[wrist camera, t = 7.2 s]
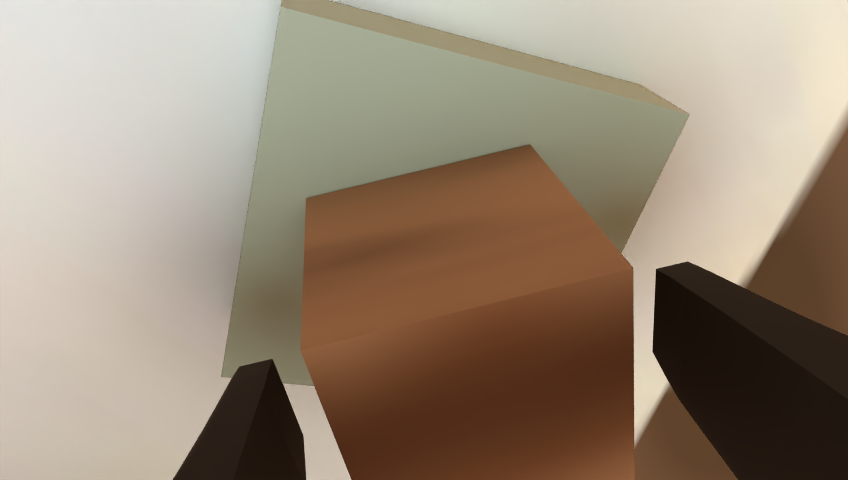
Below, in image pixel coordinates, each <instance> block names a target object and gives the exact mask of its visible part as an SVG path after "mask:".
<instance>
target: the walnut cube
mask: <svg viewBox="0 0 848 480" xmlns="http://www.w3.org/2000/svg"><path fill="white" fill-rule="evenodd" d="M300 351H301V354H302V356H303V359H304V361H305V364H306V366H307V369H308V371H309V374H310V376H311V379H312V381H313V384H314V386H315V389H316V391H317V394H318V396H319V399H320V401H321V404H322V406H323V409H324V411H325V414H326V417H327V419H328V422H329V424H330V427H331V429H332V432H333V434H334V437H335V439H336V442H337V444H338V447H339V449H340V452H341V454H342V457H343V459H344V462H345V464H346V467H347V469H348V472H349V475H350V477H351V480H634V327H633V267H632V266H631V265H630V264H629V262H628V261H627V260H626V259H625V258H624V256H623V255H622V254H621V253H620V252H619V250H618V249H617V248H616V247H615V246H614V244H613V243H612V242H611V241H610V240H609V238H608V237H607V236H606V235H605V234H604V232H603V231H602V230H601V229H600V228H599V226H598V225H597V224H596V223H595V222H594V220H593V219H592V218H591V217H590V216H589V214H588V213H587V212H586V211H585V210H584V208H583V207H582V206H581V205H580V204H579V202H578V201H577V200H576V199H575V198H574V196H573V195H572V194H571V193H570V192H569V190H568V189H567V188H566V187H565V186H564V184H563V183H562V182H561V181H560V180H559V178H558V177H557V176H556V175H555V174H554V172H553V171H552V170H551V169H550V168H549V166H548V165H547V164H546V163H545V162H544V160H543V159H542V158H541V157H540V156H539V154H538V153H537V152H536V151H535V150H534V148H533V147H532V146H531V145H526V146H522V147H518V148H513V149H509V150H505V151H501V152H497V153H493V154H488V155H484V156H480V157H476V158H472V159H468V160H463V161H459V162H455V163H451V164H447V165H443V166H439V167H434V168H430V169H426V170H422V171H418V172H414V173H409V174H405V175H401V176H397V177H393V178H389V179H384V180H380V181H376V182H372V183H368V184H364V185H359V186H355V187H351V188H347V189H343V190H339V191H334V192H330V193H326V194H322V195H318V196H314V197H310V198H306V212H305V240H304V267H303V295H302V322H301V350H300Z"/></svg>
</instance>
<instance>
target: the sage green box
mask: <svg viewBox="0 0 848 480" xmlns="http://www.w3.org/2000/svg"><path fill="white" fill-rule="evenodd" d="M689 115H690V114H688V113H687V112H685V111H683V110H682V109H680V108H678V107H677V106H675V105H673V104H672V103H670V102H668V101H667V100H665V99H663V98H661V97H660V96H658V95H656V94H655V93H653V92H651V91H650V90H648V89H646V88H645V87H643V86H641V85H639V84H636V83H632V82H628V81H625V80H621V79H617V78H613V77H610V76H606V75H602V74H599V73H595V72H591V71H588V70H584V69H580V68H577V67H573V66H569V65H566V64H562V63H558V62H554V61H551V60H547V59H543V58H540V57H536V56H532V55H529V54H525V53H521V52H518V51H514V50H510V49H507V48H503V47H499V46H495V45H492V44H488V43H484V42H481V41H477V40H473V39H470V38H466V37H462V36H459V35H455V34H451V33H448V32H444V31H440V30H436V29H433V28H429V27H425V26H422V25H418V24H414V23H411V22H407V21H403V20H400V19H396V18H392V17H389V16H385V15H381V14H377V13H374V12H370V11H366V10H363V9H359V8H355V7H352V6H348V5H344V4H341V3H337V2H333V1H330V0H282V3H281V7H280V13H279V19H278V25H277V31H276V38H275V44H274V50H273V56H272V63H271V69H270V75H269V81H268V88H267V94H266V100H265V106H264V112H263V119H262V125H261V131H260V137H259V144H258V150H257V156H256V162H255V169H254V175H253V181H252V187H251V193H250V200H249V206H248V212H247V218H246V225H245V231H244V237H243V243H242V250H241V256H240V262H239V268H238V275H237V281H236V287H235V293H234V299H233V306H232V312H231V318H230V324H229V331H228V337H227V343H226V349H225V356H224V362H223V368H222V374H221V377H229V378H232V377H233V375H234V374H235V372H236V370H237V369H238V368H239V366H243V365H248V364H252V363H256V362H260V361H265V360H269V359H273V361H274V363H275V366H276V368H277V371H278V373H279V376H280V378H281V381H282V383H290V384H300V385H310V386H314V384H313V381H312V379H311V376H310V374H309V371H308V369H307V366H306V364H305V361H304V359H303V356H302V354H301V351H300V350H301V322H302V295H303V267H304V240H305V212H306V198H310V197H314V196H318V195H322V194H326V193H330V192H334V191H339V190H343V189H347V188H351V187H355V186H359V185H364V184H368V183H372V182H376V181H380V180H384V179H389V178H393V177H397V176H401V175H405V174H409V173H414V172H418V171H422V170H426V169H430V168H434V167H439V166H443V165H447V164H451V163H455V162H459V161H463V160H468V159H472V158H476V157H480V156H484V155H488V154H493V153H497V152H501V151H505V150H509V149H513V148H518V147H522V146H526V145H531V146H532V147H533V148H534V150H535V151H536V152H537V153H538V154H539V156H540V157H541V158H542V159H543V160H544V162H545V163H546V164H547V165H548V166H549V168H550V169H551V170H552V171H553V172H554V174H555V175H556V176H557V177H558V178H559V180H560V181H561V182H562V183H563V184H564V186H565V187H566V188H567V189H568V190H569V192H570V193H571V194H572V195H573V196H574V198H575V199H576V200H577V201H578V202H579V204H580V205H581V206H582V207H583V208H584V210H585V211H586V212H587V213H588V214H589V216H590V217H591V218H592V219H593V220H594V222H595V223H596V224H597V225H598V226H599V228H600V229H601V230H602V231H603V232H604V234H605V235H606V236H607V237H608V238H609V240H610V241H611V242H612V243H613V244H614V246H615V247H616V248H617V249H618V250H619V252H620V253H622V251H623V249H624V247H625V245H626V243H627V240H628V238H629V236H630V234H631V232H632V230H633V228H634V226H635V224H636V222H637V220H638V218H639V216H640V214H641V212H642V210H643V208H644V206H645V204H646V202H647V200H648V198H649V196H650V194H651V192H652V190H653V188H654V186H655V184H656V182H657V180H658V178H659V176H660V174H661V172H662V170H663V168H664V166H665V164H666V162H667V160H668V158H669V155H670V153H671V151H672V149H673V147H674V145H675V143H676V141H677V139H678V137H679V135H680V133H681V131H682V129H683V127H684V125H685V123H686V121H687V119H688V117H689Z"/></svg>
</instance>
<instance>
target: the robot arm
mask: <svg viewBox="0 0 848 480" xmlns="http://www.w3.org/2000/svg"><path fill="white" fill-rule="evenodd" d="M653 353H654V355H655V357H656V359H657V361H658V363H659V365H660V367H661V368H662V370H663V372H664V374H665V376H666V378H667V379H668V381H669V383H670V385H671V386H672V388H673V390H674V392H675V393H676V395H677V397H678V398H679V400H680V401H681V403H682V404H683V405H684V407H685V408H686V410H687V411H688V412H689V414H690V415H691V416H692V418H693V419H694V421H695V422H696V423H697V425H698V426H699V427H700V429H701V430H702V431H703V433H704V434H705V436H706V437H707V438H708V440H709V441H710V442H711V444H712V445H713V446H714V448H715V449H716V450H717V452H718V453H719V454H720V456H721V457H722V458H723V460H724V461H725V463H726V464H727V465H728V466H729V468H730V469H731V471H732V472H733V473H734V475H735V476H736V477H737V478H738V480H848V336H847V335H845V334H842V333H840V332H838V331H835V330H833V329H831V328H828V327H826V326H824V325H822V324H819V323H817V322H814V321H812V320H810V319H808V318H806V317H804V316H801V315H799V314H797V313H795V312H792V311H791V310H788V309H786V308H784V307H782V306H780V305H778V304H776V303H774V302H772V301H770V300H767V299H765V298H763V297H761V296H759V295H757V294H755V293H753V292H751V291H749V290H747V289H745V288H743V287H741V286H739V285H737V284H735V283H732V282H730V281H728V280H726V279H724V278H722V277H720V276H718V275H716V274H714V273H712V272H710V271H708V270H705V269H703V268H701V267H699V266H697V265H694V264H692V263H690V262H684V263H680V264H675V265H671V266H667V267H662V268H658V269H656V284H655V307H654V330H653ZM173 480H306V469H305V453H304V438H303V434H302V431H301V429H300V426H299V424H298V421H297V419H296V416H295V414H294V411H293V409H292V406H291V404H290V401H289V399H288V396H287V394H286V391H285V388H284V386H283V383H282V381H281V378H280V376H279V373H278V371H277V368H276V366H275V363H274V361H273V359H269V360H265V361H260V362H256V363H252V364H248V365H243V366H239V368H238V369H237V370H236V372H235V374H234V375H233V377H232V379H231V381H230V382H229V384H228V386H227V388H226V390H225V391H224V393H223V395H222V397H221V399H220V400H219V402H218V404H217V406H216V408H215V409H214V411H213V413H212V415H211V416H210V418H209V420H208V422H207V424H206V425H205V427H204V429H203V431H202V432H201V434H200V436H199V437H198V439H197V441H196V442H195V444H194V446H193V447H192V449H191V451H190V452H189V454H188V456H187V457H186V459H185V461H184V462H183V464H182V466H181V467H180V469H179V470H178V472H177V474H176V475H175V477H174V478H173Z"/></svg>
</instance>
